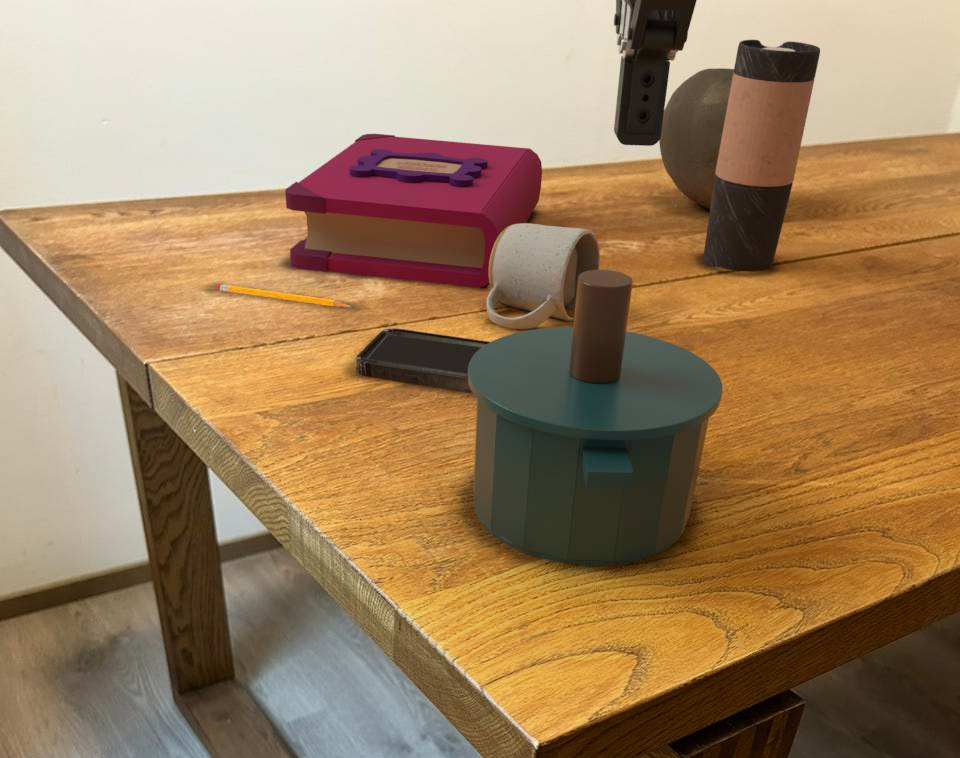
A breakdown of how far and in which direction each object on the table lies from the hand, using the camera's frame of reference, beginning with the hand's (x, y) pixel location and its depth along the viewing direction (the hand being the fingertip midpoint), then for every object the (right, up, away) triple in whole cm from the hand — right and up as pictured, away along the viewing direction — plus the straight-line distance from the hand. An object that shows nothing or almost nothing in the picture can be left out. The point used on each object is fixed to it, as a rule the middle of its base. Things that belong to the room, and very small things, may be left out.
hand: (636, 141), depth 51 cm
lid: (-1, -10, +8) cm, 13 cm away
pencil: (-26, +5, +41) cm, 48 cm away
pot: (-2, -17, +13) cm, 21 cm away
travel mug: (+19, +14, +54) cm, 59 cm away
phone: (-10, -4, +29) cm, 31 cm away
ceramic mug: (-3, +4, +40) cm, 40 cm away
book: (-14, +18, +57) cm, 61 cm away
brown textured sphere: (+20, +27, +71) cm, 79 cm away
